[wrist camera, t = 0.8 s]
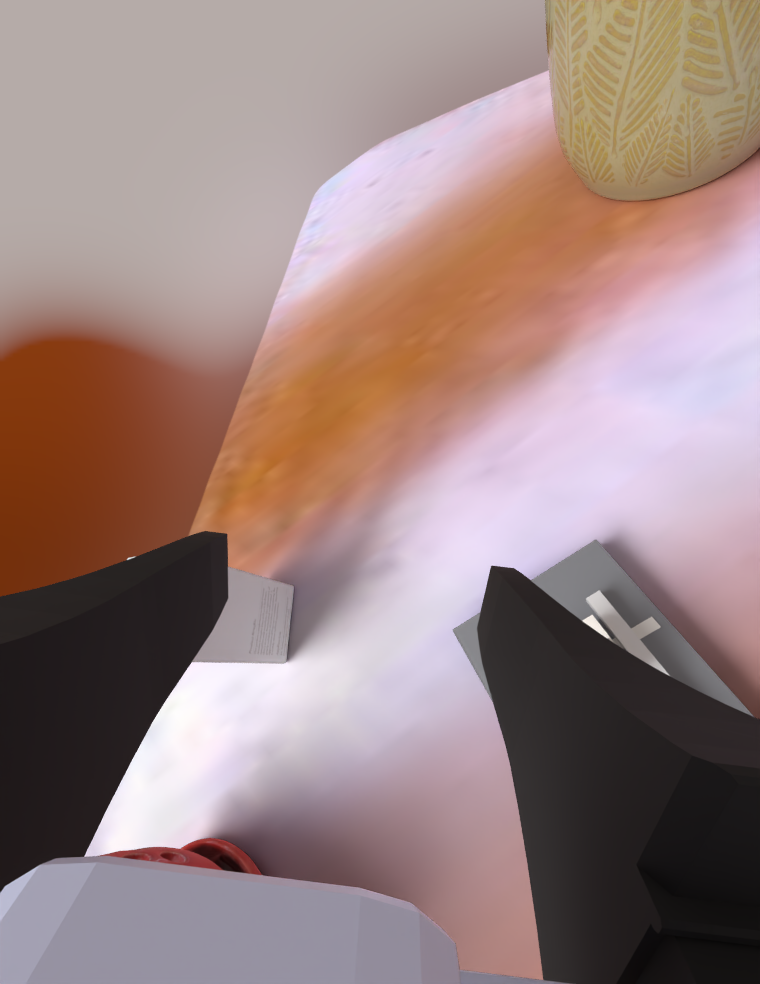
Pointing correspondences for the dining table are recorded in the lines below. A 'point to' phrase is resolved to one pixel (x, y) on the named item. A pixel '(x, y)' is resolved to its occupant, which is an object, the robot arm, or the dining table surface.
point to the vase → (654, 91)
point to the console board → (615, 621)
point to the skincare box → (251, 622)
